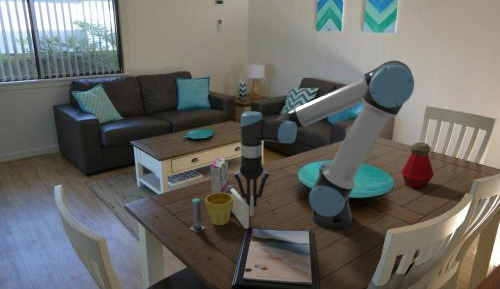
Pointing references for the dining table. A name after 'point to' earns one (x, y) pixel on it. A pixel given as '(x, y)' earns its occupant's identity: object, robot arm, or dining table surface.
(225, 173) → the candy bar box
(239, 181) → the robot arm
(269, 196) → the dining table surface
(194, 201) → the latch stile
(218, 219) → the plant pot
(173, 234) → the dining table surface
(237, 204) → the white rounded panel
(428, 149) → the bottle
